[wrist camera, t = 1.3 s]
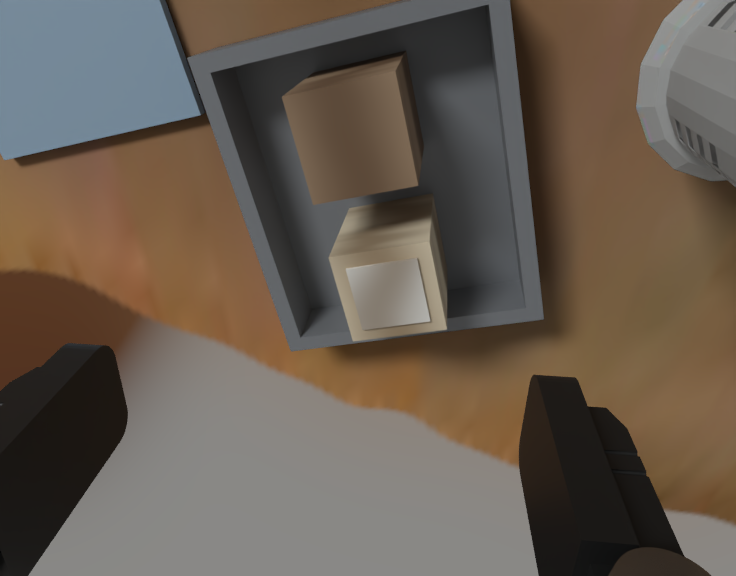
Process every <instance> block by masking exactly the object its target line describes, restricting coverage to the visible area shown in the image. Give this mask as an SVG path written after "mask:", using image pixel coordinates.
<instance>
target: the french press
mask: <svg viewBox="0 0 736 576" xmlns="http://www.w3.org/2000/svg"><path fill="white" fill-rule="evenodd" d="M636 109H637V112H638V115H639V118H640V121H641V124H642V127H643V130H644V133H645V136H646V139H647V142H648V144H649V145H650V146H651V147H652V148H653V149H654V150H655V151H656V152H657V153H658V154H659V155H660V156H661V157H662V158H663V159H664V160H665V161H666V162H667V163H668V164H669V165H670V166H671V167H672V168H673V169H675V170H678V171H681V172H684V173H687V174H690V175H693V176H696V177H699V178H702V179H705V180H708V181H724V180H727V181H729V182H730V183H731V184H732V185H733V186H735V187H736V0H683V1H682V2H681V3H680V4H679V5H678V6H677V7H676V8H675V9H674V10H673V11H672V12H671V13H670V14H669V15H668V16H667V17H666V18H665V19H664V20H663V22H662V24H661V26H660V27H659V29H658V31H657V33H656V35H655V37H654V39H653V41H652V43H651V45H650V47H649V49H648V51H647V53H646V55H645V57H644V59H643V61H642V63H641V67H640V77H639V86H638V95H637V104H636ZM733 183H734V184H733Z"/></svg>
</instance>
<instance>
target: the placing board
mask: <svg viewBox="0 0 736 576" xmlns="http://www.w3.org/2000/svg"><path fill="white" fill-rule="evenodd" d="M204 113H205V111H204V108H203V105H202V102H201V99H200V97H199V94H198V91H197V88H196V85H195V82H194V80H193V77H192V74H191V71H190V68H189V66H188V63H187V60H186V57H185V54H184V51H183V49H182V46H181V43H180V40H179V37H178V35H177V32H176V29H175V26H174V23H173V20H172V18H171V15H170V12H169V9H168V6H167V4H166V1H165V0H0V153H1V155H2V157H3V159H4V160H8V159H12V158H16V157H21V156H25V155H29V154H34V153H38V152H43V151H47V150H51V149H56V148H60V147H64V146H69V145H73V144H77V143H82V142H86V141H90V140H95V139H99V138H104V137H108V136H112V135H117V134H121V133H125V132H130V131H134V130H138V129H143V128H147V127H152V126H156V125H160V124H165V123H169V122H173V121H178V120H182V119H186V118H191V117H195V116H199V115H202V114H204Z"/></svg>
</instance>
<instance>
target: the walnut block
mask: <svg viewBox="0 0 736 576" xmlns="http://www.w3.org/2000/svg"><path fill="white" fill-rule="evenodd" d="M282 100H283V103H284V107H285V110H286V113H287V117H288V120H289V124H290V127H291V131H292V134H293V137H294V141H295V144H296V148H297V151H298V155H299V158H300V161H301V165H302V168H303V172H304V175H305V179H306V182H307V186H308V189H309V192H310V196H311V199H312V203H313V205H316V204H322V203H327V202H333V201H338V200H344V199H349V198H355V197H360V196H366V195H371V194H376V193H382V192H387V191H393V190H398V189H404V188H409V187H415V186H418V185H419V178H420V171H421V164H422V157H423V150H424V143H423V138H422V132H421V127H420V122H419V116H418V111H417V106H416V101H415V95H414V90H413V85H412V79H411V74H410V69H409V63H408V58H407V53H406V51H402V52H398V53H393V54H389V55H385V56H381V57H376V58H372V59H368V60H364V61H359V62H355V63H351V64H347V65H342V66H338V67H334V68H330V69H326V70H321V71H317V72H313V73H312V74H311V75H309V76H308V77H307V78H306V79H304V80H303V81H302V82H300V83H299V84H298V85H296V86H295V87H294V88H293V89H291V90H290V91H289V92H287V93H286V94H285V95H283V96H282Z"/></svg>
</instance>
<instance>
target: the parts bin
mask: <svg viewBox="0 0 736 576" xmlns="http://www.w3.org/2000/svg"><path fill="white" fill-rule="evenodd" d="M402 51H406V53H407V58H408V63H409V69H410V74H411V79H412V85H413V90H414V95H415V101H416V106H417V111H418V116H419V122H420V127H421V132H422V138H423V143H424V150H423V157H422V164H421V171H420V178H419V185H418V186H415V187H409V188H404V189H398V190H393V191H387V192H382V193H376V194H371V195H366V196H360V197H355V198H349V199H344V200H338V201H333V202H327V203H322V204H316V205H313V203H312V199H311V196H310V192H309V189H308V186H307V182H306V179H305V175H304V172H303V168H302V165H301V161H300V158H299V155H298V151H297V148H296V144H295V141H294V137H293V134H292V131H291V127H290V124H289V120H288V117H287V113H286V110H285V107H284V103H283V100H282V96H283V95H285V94H286V93H287V92H289V91H290V90H291V89H293V88H294V87H295V86H296V85H298V84H299V83H300V82H302V81H303V80H304V79H306V78H307V77H308V76H309V75H311V74H312V73H313V72H317V71H321V70H326V69H330V68H334V67H338V66H342V65H347V64H351V63H355V62H359V61H364V60H368V59H372V58H376V57H381V56H385V55H389V54H393V53H398V52H402ZM187 59H188V62H189V65H190V68H191V70H192V73H193V76H194V79H195V82H196V85H197V87H198V90H199V93H200V96H201V99H202V101H203V104H204V107H205V110H206V113H207V116H208V118H209V121H210V124H211V127H212V130H213V133H214V135H215V138H216V141H217V144H218V147H219V150H220V152H221V155H222V158H223V161H224V164H225V166H226V169H227V172H228V175H229V178H230V181H231V183H232V186H233V189H234V192H235V195H236V198H237V200H238V203H239V206H240V209H241V212H242V214H243V217H244V220H245V223H246V226H247V229H248V231H249V234H250V237H251V240H252V243H253V246H254V248H255V251H256V254H257V257H258V260H259V263H260V265H261V268H262V271H263V274H264V277H265V279H266V282H267V285H268V288H269V291H270V294H271V296H272V299H273V302H274V305H275V308H276V311H277V313H278V316H279V319H280V322H281V325H282V328H283V330H284V333H285V336H286V339H287V342H288V344H289V347H290V350H291V351H298V350H306V349H314V348H322V347H330V346H338V345H346V344H354V343H361V342H369V341H377V340H385V339H393V338H401V337H409V336H417V335H425V334H433V333H441V332H449V331H457V330H465V329H472V328H480V327H488V326H496V325H504V324H512V323H520V322H528V321H536V320H544V315H543V306H542V296H541V287H540V278H539V268H538V259H537V250H536V240H535V231H534V222H533V212H532V203H531V194H530V184H529V175H528V165H527V156H526V147H525V137H524V128H523V119H522V109H521V100H520V91H519V81H518V72H517V63H516V53H515V44H514V35H513V25H512V16H511V7H510V0H401V1H397V2H393V3H389V4H385V5H382V6H378V7H374V8H370V9H366V10H362V11H358V12H354V13H350V14H346V15H342V16H339V17H335V18H331V19H327V20H323V21H319V22H315V23H311V24H307V25H303V26H299V27H296V28H292V29H288V30H284V31H280V32H276V33H272V34H268V35H264V36H260V37H256V38H253V39H249V40H245V41H241V42H237V43H233V44H229V45H225V46H221V47H217V48H214V49H211V50H208V51H206V52H203V53H200V54H197V55H194V56H191V57H188V58H187ZM432 193H433V196H434V201H435V207H436V212H437V217H438V223H439V228H440V233H441V238H442V244H443V249H444V254H445V260H446V265H447V330H440V331H432V332H424V333H417V334H409V335H401V336H393V337H385V338H377V339H369V340H361V341H353V340H352V336H351V333H350V330H349V326H348V323H347V319H346V316H345V312H344V309H343V306H342V302H341V299H340V295H339V292H338V288H337V285H336V282H335V278H334V275H333V271H332V268H331V264H330V261H329V255H330V253H331V251H332V248H333V246H334V243H335V241H336V239H337V236H338V234H339V231H340V229H341V227H342V224H343V222H344V219H345V217H346V215H347V212H348V210H349V208H354V207H359V206H365V205H370V204H376V203H381V202H387V201H393V200H398V199H404V198H409V197H415V196H420V195H426V194H432Z"/></svg>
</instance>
